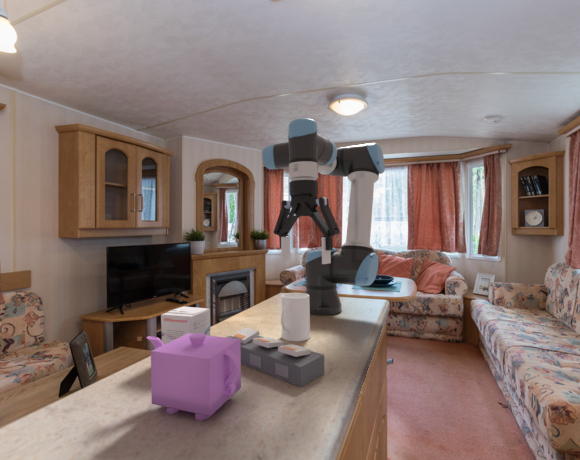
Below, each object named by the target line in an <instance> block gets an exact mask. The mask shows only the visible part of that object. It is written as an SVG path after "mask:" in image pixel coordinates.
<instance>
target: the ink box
mask: <svg viewBox="0 0 580 460" xmlns="http://www.w3.org/2000/svg"><path fill="white" fill-rule="evenodd" d="M160 325H161V326H160V327H161V331H160V332H161V341H162V342H163V344H164V345H165V344H167V343H169V342H171V341H173V340H175V339H177V338H179V337H181V336H184V335H186V334H188V333H191V334H195V333H203V334H205V335H208V336H211V308H205V307H196V306H195V307H193V306H180V307H177V308H174V309H171V310H169V311H167V312H165V313H161V315H160Z"/></svg>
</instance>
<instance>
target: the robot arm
mask: <svg viewBox="0 0 580 460" xmlns="http://www.w3.org/2000/svg"><path fill="white" fill-rule="evenodd" d="M318 132H319V130H318V123H317V121H316V120H314V119H311V118H308V117H307V118H303V117H302V118H296V119H292V120H291V121H290V122H289V124H288V134H287V140H288V141H287V142H280V143H273V144H270V145H269V144H268V145H266V146H264V148H263V150H262V153H261V157H262V163H263V165H264V167H266V169H268V170H276V171H277V170H280V169H286V170H288V177H289V180H290V181H289V183H288V184H289V185H288V186H289V187H288V189H289V196H290V197H291V199H290V200H281V204H280V205H281V206H280V207H281V208H280V212H279V213H278V216H277V221H276V224H275V225H274V229H273V234H274V235H276V236H278V237H279V248H280V249H281V250H280V251H281V252H280V253H281V255H280V256H281V258H280V259H281V262H285V261H286V262H287V261H290V260H291V241H290V240H291V239H290V238H291V236H290V235H289V233H290V232H291V230H292V228H293V226H294V225H295V223H296V221H297V220H298V219H299V218H300V217H309V218H311V219H312V221H313V222H314V223H315V225H316V226H317V228H318V230H320V232H321V233H322V234H323V236H322V237H320V238H321V239H320V240H321V249H316V250H315V249H314V250H310V251H307V252H306V254H305V261H304V262H305V263H304V265H305V292H304V293H306V294H309V303H310V315H319V316H320V315H323V316H325V315H326V316H327V315H333V314H335V315H336V314H338V313H341V312H342V311H343V310H342V308H343V307H342V303H341V299H340V296H339V292H338V290H337V289H338V286H337V285H348V286H357V287H361V286H362V287H364V286H365V287H367V286H368V287H369V286H371V285H372V284H373V283H374V281H376V278H377V274H378V271H379V255H378V254H377V253H375V251H374V250H375V249H374V247H373V246H372V245H371V234H372V233H371V232H372V219H373V218H372V216H373V206H374V205H373V203H374V189H375V183H376V182H378V181H379V179H380V176H379V175H382V174H383V173H385V170H386V166H385V165H386V164H385V163H386V162H385V159H384V158H385V157H384V153H383V151H382V147H381V146H380V144H378V143H376V142H372V143H371V142H370V143H367V142H366V143H364V144H357V145H349V146H342V147H337V146H336V144H335V143H334V142H333V141H331V140H330V138H327V137H324V136H323V135H320V134H319V133H318ZM319 174H321V175H326V176H330V177H331V176H332V177H338V178H339V177H340V178H343V177H347V179H348V180H349V181H350V182H351V183H350V191H349V203H348V216H347V226H346V236H345V237H346V239H345V242H344V243H343V244H342V245H341V247H340V251H337V248H335V247H334V242H333V241H334V240H333V239H334V236H336V235H339V234H341V231H340V228H339V226H338V224H337V221H336V219H335V217H334V215H333V213H332V210H331V207H330V203H329V198H328V197H322V196H321V197H319V198H318V195H319V181H317V180H318V179H319ZM317 207H319V209H318V208H317ZM319 210H320V211H319ZM321 214H322V215H321Z"/></svg>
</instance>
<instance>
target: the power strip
mask: <svg viewBox="0 0 580 460" xmlns="http://www.w3.org/2000/svg"><path fill="white" fill-rule="evenodd" d="M264 337H265V336H261V335H258V336H257V337H255V338H264ZM225 338H231V335H229V336H226V337H225ZM284 345H290V344H288V343H286V342H283V346H284ZM240 350H241V365H244V366H246V367H248V368H252V369H253V370H257V371H259V372H262V373H264V374H266V375H270V376H271V377H274V378H277V379H279V380H282V381H284V382H287V383H290V384H292V385H294V386H297V387H300V388H302V387H304V386H306V385H307V384H308V383H311V382H312V381H314V380H316V379H317V378H319V377H321V376H323V375H325V354H323V353H318V352H315V351H313V350H311V352H310V354H309V355H303V356H297V357H295V356H292V355H289V354H286V353H282V352H279V351H278V347H271V348H267V347H264V346H261V345H257V344H254V343H253V339H252V340H250V341H249V342H247V343H245V344H243V343H240Z"/></svg>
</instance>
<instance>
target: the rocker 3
mask: <svg viewBox="0 0 580 460" xmlns="http://www.w3.org/2000/svg"><path fill="white" fill-rule="evenodd" d="M278 351H279V352H282V353H286V354H289V355H292V356H295V357H297V356H303V355H309V354H310V352H311V351H312V350H311V348H307V347H304V346H300V345H296V344H293V343H292V344H289V345H284V346H278Z"/></svg>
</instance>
